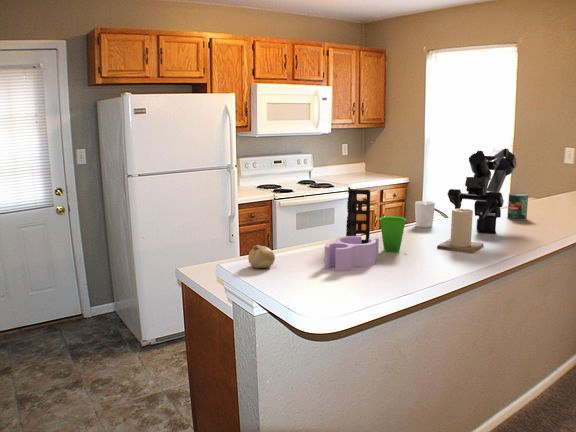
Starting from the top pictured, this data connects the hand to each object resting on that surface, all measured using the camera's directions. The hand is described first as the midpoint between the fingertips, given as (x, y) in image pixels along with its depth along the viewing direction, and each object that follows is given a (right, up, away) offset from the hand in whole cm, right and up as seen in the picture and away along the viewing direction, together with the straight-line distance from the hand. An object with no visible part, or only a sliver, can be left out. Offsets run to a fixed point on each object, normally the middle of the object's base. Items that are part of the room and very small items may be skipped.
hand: (468, 216), depth 182 cm
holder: (-40, -10, +2) cm, 41 cm away
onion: (-72, -15, -27) cm, 79 cm away
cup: (-29, -12, -9) cm, 33 cm away
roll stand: (-5, -11, -5) cm, 12 cm away
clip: (-45, -15, -23) cm, 53 cm away
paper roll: (-5, -10, -5) cm, 12 cm away
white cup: (-8, -4, +31) cm, 32 cm away
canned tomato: (+37, -1, +46) cm, 59 cm away
